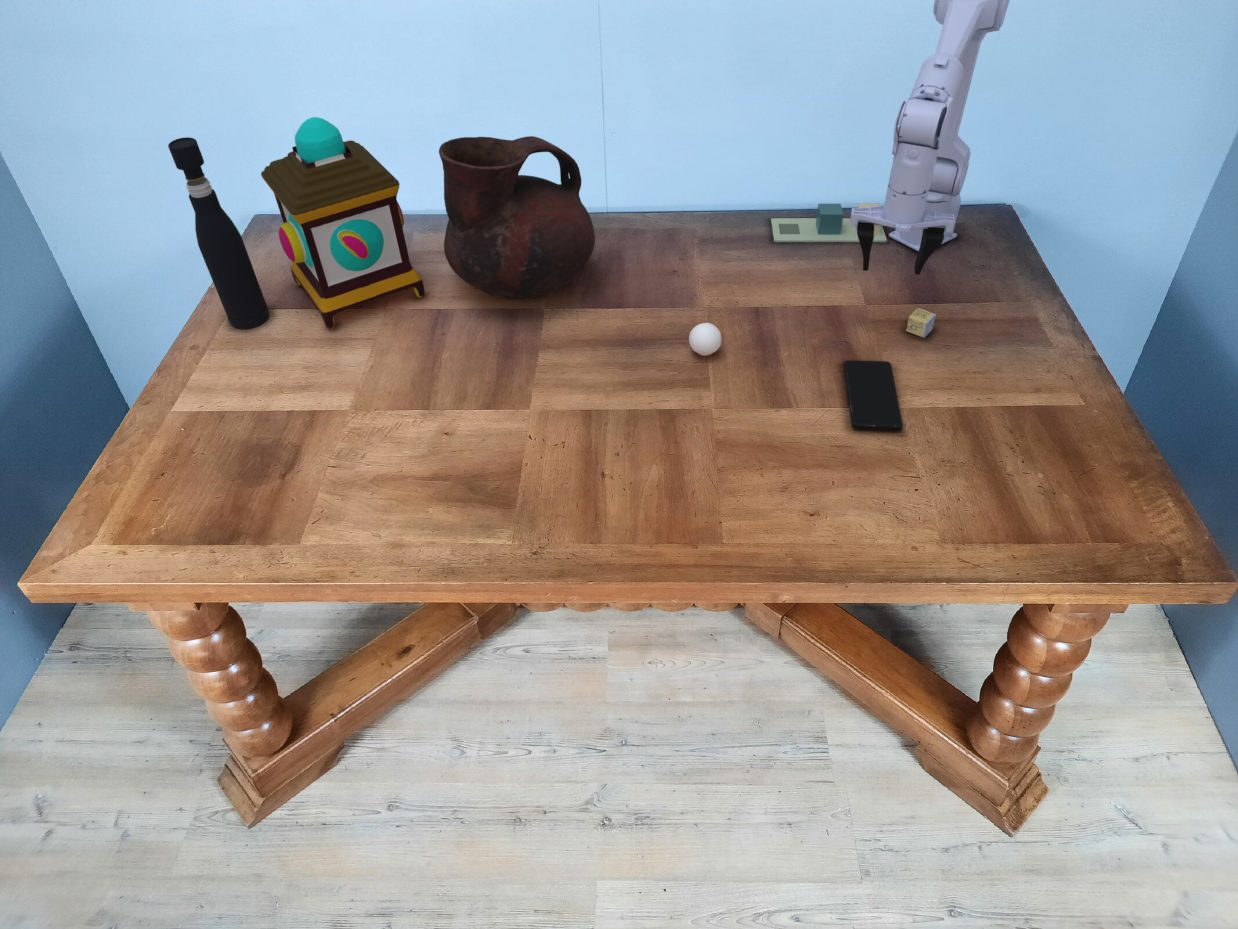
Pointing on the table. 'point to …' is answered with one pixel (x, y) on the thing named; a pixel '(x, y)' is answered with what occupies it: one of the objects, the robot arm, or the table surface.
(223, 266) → the wine bottle
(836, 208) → the teal cube
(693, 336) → the white ping pong ball
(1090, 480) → the table surface
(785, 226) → the word mat
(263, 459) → the table surface
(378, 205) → the decorative lantern
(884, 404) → the smartphone
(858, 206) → the beige cube block
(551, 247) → the jug
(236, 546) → the table surface
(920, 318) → the alphabet block
